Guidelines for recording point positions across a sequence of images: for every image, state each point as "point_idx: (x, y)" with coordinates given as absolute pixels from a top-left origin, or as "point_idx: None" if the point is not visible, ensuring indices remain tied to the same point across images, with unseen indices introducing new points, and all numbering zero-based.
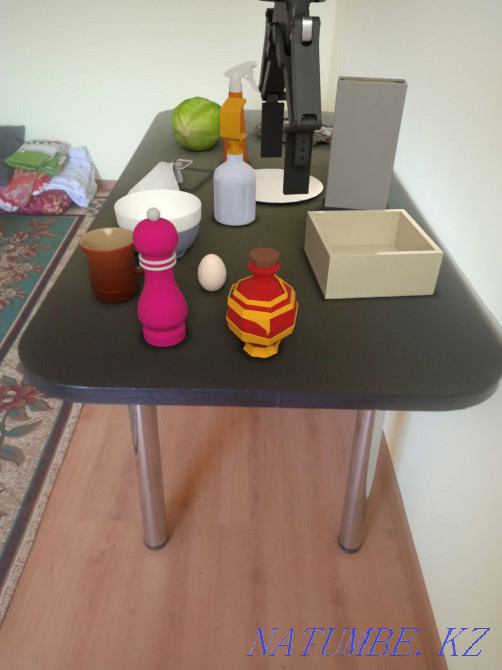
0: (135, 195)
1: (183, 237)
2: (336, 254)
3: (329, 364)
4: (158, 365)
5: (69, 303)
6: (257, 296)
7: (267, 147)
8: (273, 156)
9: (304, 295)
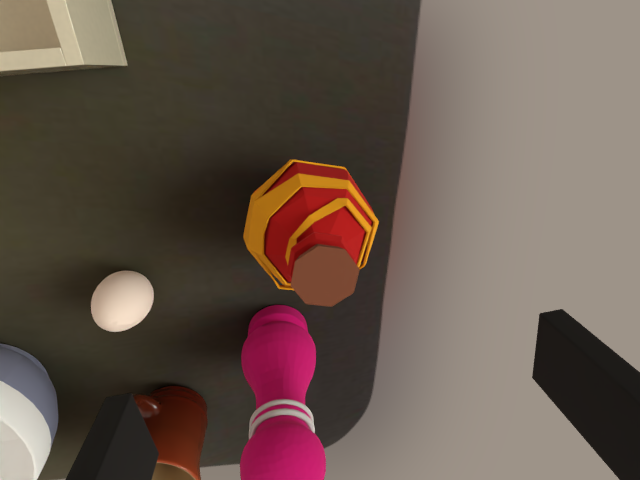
0: None
1: (14, 374)
2: (66, 43)
3: (349, 90)
4: (344, 324)
5: (208, 446)
6: (354, 253)
7: (138, 475)
8: (140, 422)
9: (119, 111)
